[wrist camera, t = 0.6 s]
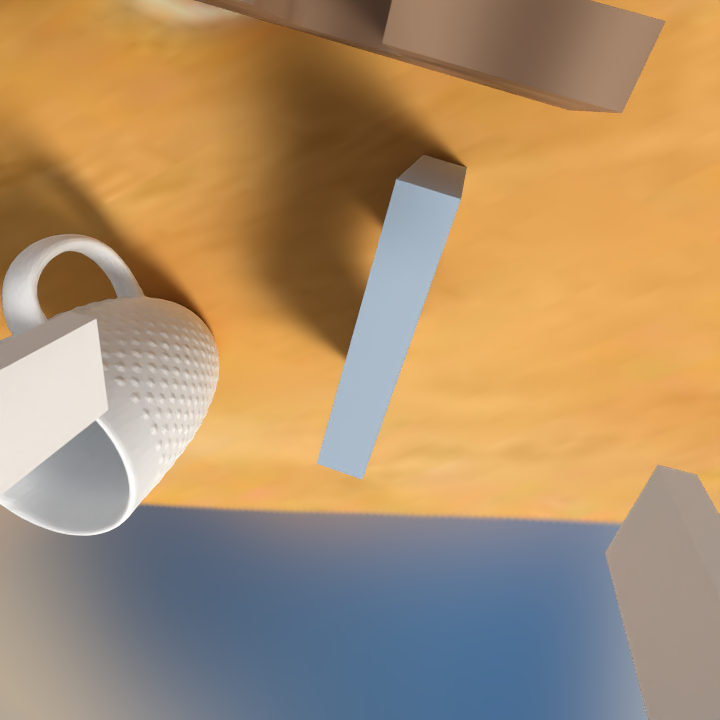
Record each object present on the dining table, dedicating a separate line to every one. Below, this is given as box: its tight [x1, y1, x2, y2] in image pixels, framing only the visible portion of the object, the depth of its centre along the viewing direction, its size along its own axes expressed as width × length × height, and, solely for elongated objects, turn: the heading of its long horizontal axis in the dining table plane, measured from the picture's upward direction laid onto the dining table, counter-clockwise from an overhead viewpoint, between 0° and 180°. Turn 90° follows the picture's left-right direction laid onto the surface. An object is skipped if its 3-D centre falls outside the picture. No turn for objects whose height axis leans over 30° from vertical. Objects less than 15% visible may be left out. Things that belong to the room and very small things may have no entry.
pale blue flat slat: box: [317, 154, 467, 479], centre depth 25 cm, size 14×2×10 cm, turn 166°
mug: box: [0, 234, 219, 535], centre depth 29 cm, size 15×11×13 cm
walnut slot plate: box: [196, 0, 665, 113], centre depth 19 cm, size 20×2×10 cm, turn 76°
